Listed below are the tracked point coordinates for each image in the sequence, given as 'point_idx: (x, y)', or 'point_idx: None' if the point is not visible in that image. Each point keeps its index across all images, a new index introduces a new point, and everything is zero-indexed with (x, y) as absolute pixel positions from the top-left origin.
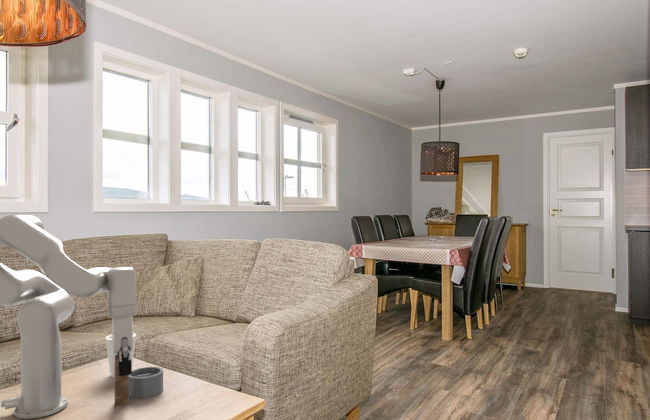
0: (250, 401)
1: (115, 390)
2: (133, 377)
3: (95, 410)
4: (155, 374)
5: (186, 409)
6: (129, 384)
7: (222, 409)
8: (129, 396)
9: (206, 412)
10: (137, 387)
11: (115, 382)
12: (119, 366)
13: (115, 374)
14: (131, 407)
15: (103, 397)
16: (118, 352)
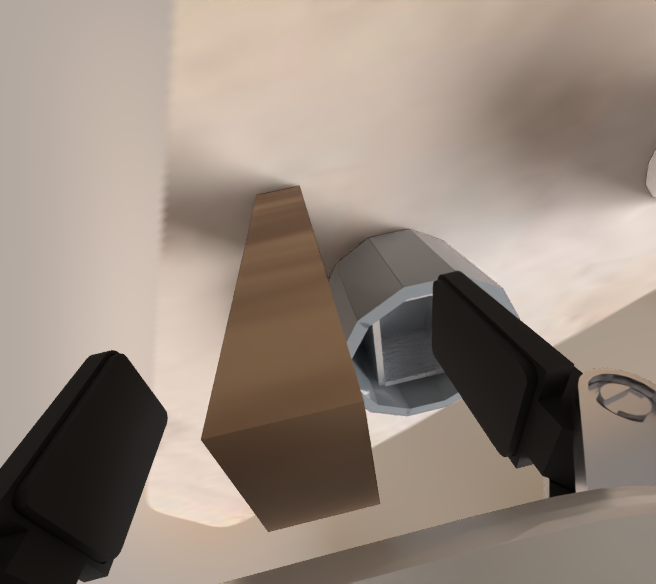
0: (223, 518)
1: (249, 226)
2: (371, 316)
3: (229, 86)
4: (439, 365)
5: (190, 427)
6: (379, 270)
7: (180, 488)
8: (363, 243)
9: (162, 466)
10: (337, 307)
11: (247, 248)
12: (29, 446)
13: (239, 280)
14: (237, 270)
15: (413, 103)
16: (540, 382)
